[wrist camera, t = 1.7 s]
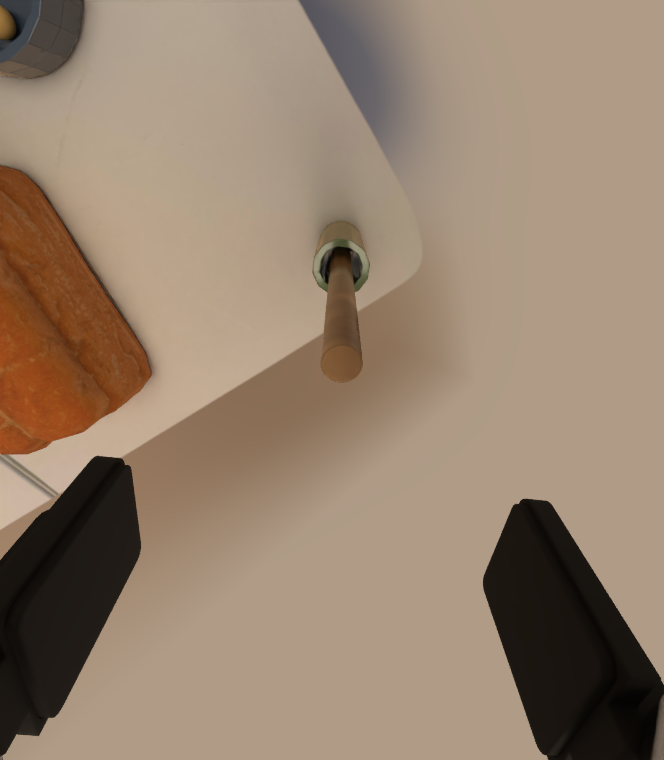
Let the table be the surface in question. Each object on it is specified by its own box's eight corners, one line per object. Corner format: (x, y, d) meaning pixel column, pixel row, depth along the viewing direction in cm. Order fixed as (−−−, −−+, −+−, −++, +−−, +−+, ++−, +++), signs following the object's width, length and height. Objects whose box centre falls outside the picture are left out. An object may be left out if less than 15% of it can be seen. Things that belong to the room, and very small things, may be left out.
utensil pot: (365, 223, 44) (373, 242, 33) (359, 267, 46) (364, 298, 36) (321, 218, 44) (315, 236, 33) (317, 262, 46) (310, 292, 35)
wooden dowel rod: (353, 236, 44) (372, 348, 18) (350, 254, 45) (366, 386, 18) (330, 234, 44) (315, 342, 17) (328, 251, 45) (312, 380, 18)
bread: (22, 152, 42) (-129, 147, 28) (165, 376, 53) (106, 449, 39) (-84, 206, 44) (-269, 226, 31) (74, 410, 55) (-11, 489, 42)
